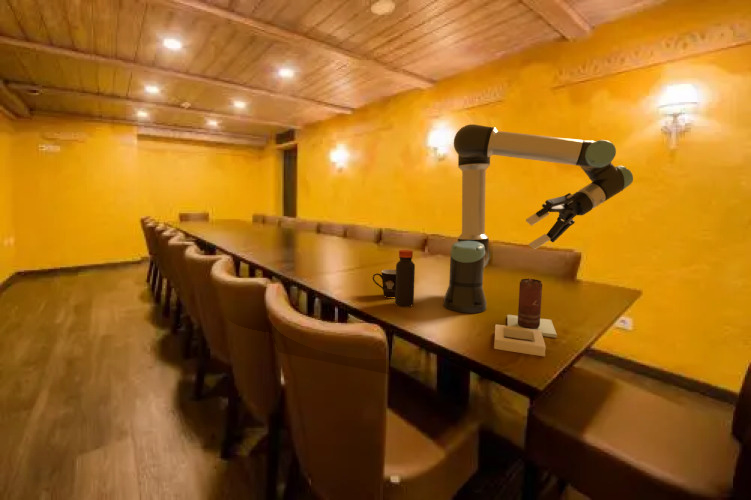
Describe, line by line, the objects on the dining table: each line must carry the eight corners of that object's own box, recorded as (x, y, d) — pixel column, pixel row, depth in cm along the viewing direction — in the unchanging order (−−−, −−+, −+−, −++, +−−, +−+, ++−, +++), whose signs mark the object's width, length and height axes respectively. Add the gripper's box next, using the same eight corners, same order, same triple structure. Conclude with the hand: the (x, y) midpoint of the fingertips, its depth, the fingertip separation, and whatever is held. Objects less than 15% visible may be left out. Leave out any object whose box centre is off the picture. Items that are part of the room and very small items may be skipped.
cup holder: (494, 348, 89) (494, 339, 89) (495, 332, 100) (495, 324, 100) (544, 356, 85) (545, 347, 85) (540, 338, 96) (540, 330, 96)
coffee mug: (406, 296, 137) (407, 271, 136) (393, 300, 131) (393, 275, 129) (384, 290, 145) (385, 267, 143) (370, 294, 138) (371, 270, 137)
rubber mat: (507, 331, 102) (507, 327, 101) (507, 317, 114) (507, 314, 113) (556, 337, 97) (556, 334, 97) (550, 322, 109) (551, 319, 109)
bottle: (411, 308, 122) (413, 252, 119) (393, 305, 124) (394, 251, 121) (415, 302, 128) (417, 250, 125) (397, 300, 130) (399, 248, 128)
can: (533, 322, 106) (536, 277, 105) (543, 329, 100) (546, 282, 98) (514, 321, 107) (516, 277, 105) (522, 329, 100) (524, 282, 99)
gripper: (596, 178, 102) (535, 218, 103) (592, 229, 120) (540, 262, 121) (577, 167, 107) (519, 204, 108) (575, 217, 125) (525, 249, 126)
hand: (530, 235), depth 114 cm, fingers open, 13 cm apart
